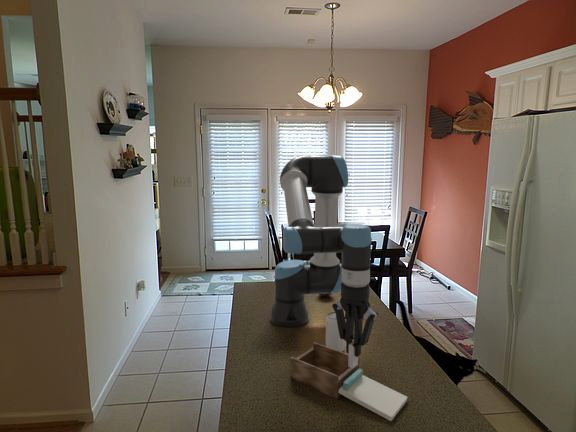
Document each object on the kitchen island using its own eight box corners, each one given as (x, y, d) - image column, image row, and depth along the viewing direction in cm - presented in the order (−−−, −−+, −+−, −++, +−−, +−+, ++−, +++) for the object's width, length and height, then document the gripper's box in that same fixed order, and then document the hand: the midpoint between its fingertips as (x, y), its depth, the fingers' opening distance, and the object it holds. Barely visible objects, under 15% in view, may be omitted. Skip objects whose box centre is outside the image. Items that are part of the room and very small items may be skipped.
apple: (334, 294, 183) (334, 277, 182) (332, 300, 176) (332, 283, 174) (318, 292, 185) (318, 276, 183) (315, 298, 177) (315, 281, 176)
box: (290, 377, 114) (290, 357, 113) (313, 361, 124) (314, 341, 123) (337, 399, 105) (337, 376, 104) (358, 379, 114) (359, 358, 113)
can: (346, 346, 134) (347, 312, 132) (342, 355, 127) (343, 320, 126) (328, 343, 136) (328, 310, 134) (323, 351, 130) (324, 317, 128)
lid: (338, 392, 104) (339, 382, 104) (356, 376, 112) (358, 366, 112) (391, 421, 96) (393, 410, 95) (406, 400, 104) (408, 390, 103)
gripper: (326, 281, 105) (325, 363, 108) (370, 292, 96) (368, 380, 100) (341, 274, 110) (339, 352, 114) (384, 284, 102) (381, 367, 106)
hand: (353, 365), depth 107 cm, fingers closed
